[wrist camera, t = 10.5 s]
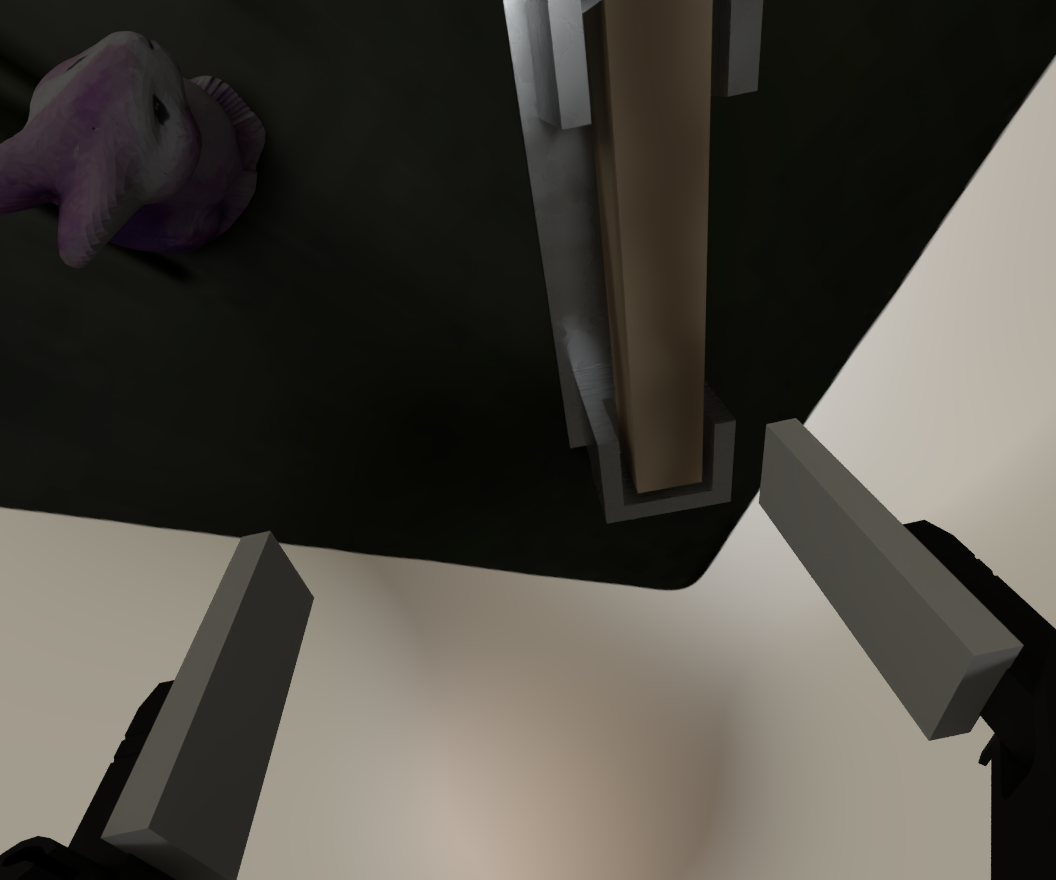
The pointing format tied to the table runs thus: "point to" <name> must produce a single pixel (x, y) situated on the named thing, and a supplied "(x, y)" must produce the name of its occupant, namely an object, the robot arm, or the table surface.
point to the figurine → (132, 152)
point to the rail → (654, 222)
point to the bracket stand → (576, 242)
